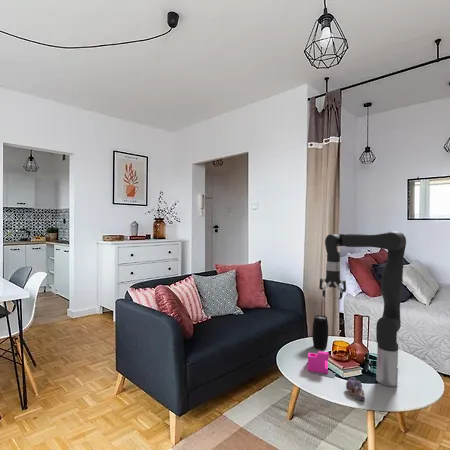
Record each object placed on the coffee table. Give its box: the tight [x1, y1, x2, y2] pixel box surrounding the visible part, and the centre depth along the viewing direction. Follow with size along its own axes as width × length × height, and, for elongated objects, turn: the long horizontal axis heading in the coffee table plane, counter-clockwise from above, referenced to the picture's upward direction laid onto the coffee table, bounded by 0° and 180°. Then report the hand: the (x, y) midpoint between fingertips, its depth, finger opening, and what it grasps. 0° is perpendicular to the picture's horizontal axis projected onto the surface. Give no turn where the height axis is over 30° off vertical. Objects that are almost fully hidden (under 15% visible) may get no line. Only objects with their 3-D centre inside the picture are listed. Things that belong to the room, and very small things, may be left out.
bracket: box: [307, 350, 330, 374], centre depth 173 cm, size 12×10×10 cm
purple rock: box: [345, 377, 366, 402], centre depth 147 cm, size 12×8×6 cm, turn 174°
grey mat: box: [309, 370, 336, 379], centre depth 171 cm, size 12×14×1 cm
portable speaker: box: [312, 314, 329, 351], centre depth 199 cm, size 9×9×20 cm
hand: (332, 297), depth 180 cm, fingers open, 8 cm apart
